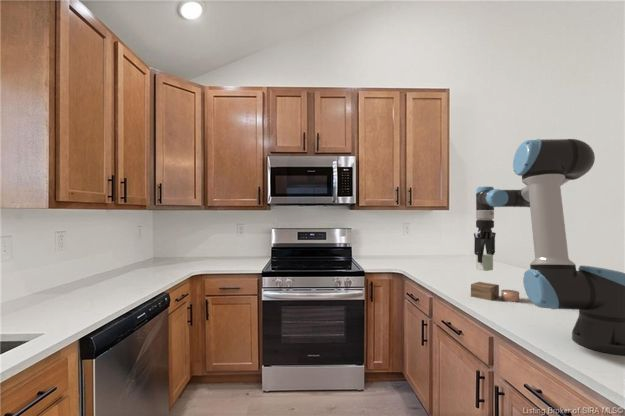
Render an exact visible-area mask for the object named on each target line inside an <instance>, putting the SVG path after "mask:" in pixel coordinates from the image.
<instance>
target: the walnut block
mask: <svg viewBox="0 0 625 416" xmlns="http://www.w3.org/2000/svg"><path fill="white" fill-rule="evenodd" d="M470 297H472V298H476V299H481V300H487V301H490V302H491V301H494V300H496V299H499V298H500V285H499V284H495V283H491V282H484V281H478V282H473V283H471V284H470Z"/></svg>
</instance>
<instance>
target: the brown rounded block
mask: <svg viewBox="0 0 625 416" xmlns="http://www.w3.org/2000/svg"><path fill="white" fill-rule="evenodd" d="M500 292H501V293H500V295H501V296H500V297H501V300H502V301H504V302H509V303H519V302H520V292H519V291H517V290H514V289H501V291H500Z"/></svg>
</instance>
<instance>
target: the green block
mask: <svg viewBox="0 0 625 416" xmlns="http://www.w3.org/2000/svg"><path fill="white" fill-rule="evenodd" d="M483 256H484V270H483V271H484V272H489V271H493V270H494V255H489V254H487V253H483ZM475 257H476V260H475V261H476V264H475V265H476V266H475V268H476V270H477V271H481V270H480V269H478V255H475Z"/></svg>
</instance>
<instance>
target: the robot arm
mask: <svg viewBox="0 0 625 416" xmlns="http://www.w3.org/2000/svg"><path fill="white" fill-rule="evenodd" d="M595 158H596V157H595V152H594V149H593V148H592V146H591V145H589V144H588V143H586V142H585V141H582V140H580V139H577V138H565V139H564V138H557V139H554V138H553V139H552V138H551V139H546V138H545V139H541V138H536V139H527V140H525V141H523V142H522V143H520V144H519V146H518V147H517V149H516V151H515V153H514V155H513V162H512V169H513V170H512V171H513V172H514V174H515V175H517V176H519V177H521V179H522V180H521V182H522V183H523V184H524V185H525V186H524V187H523V188H521V189H501V188H498V189H497V188H496V189H495V188H494V187H493V186H478V187H477V188H476V190H475V191H476V192H475V208H476V209H475V210H476V211H475V218H476V220H475V227H476V229H477V228H478V229H477V232H474V233H473V237H474V238H473V239H474V243H473V245H474V255H475V256H476V255H478V269H480V270H479V271H484V256H483V254H484V251H485V252H486V253H485V254H489V255H493V256H494V255H495V253H496V232H495V231H493V230H492V229H493V228H494V227H495V220H493V219H495V212H494V211H495V208H507V207H509V208H511V207H513V208H529V209H530V220H531V230H532V239H533V249H534V259H533V260H532V262H530V263H529V269H526V270H525V271H524V273H523V278H522V279H523V280H522V283H523V288H524V291H525V294H526V296H527V298H528V299H529V300H530V302H531V303H532V304H533V305H535V306H536V307H538V308H541V309H550V310H578V312H579V313H578V317H577V319H576V322H575V324H574V326H573V329H572V332H571V339H572V341H573V342H574V343H576V344H577V345H580V346H582V347H585V348H588V349H589V350H593V351H598V352H601V353H605V354H606V353H607V354H610V355H611V354H613V355H618V356H619V355H621V356H625V272H622V271H618V270H614V269H609V268H605V267H604V268H603V267H598V266H589V265H582V264H581V265H579V267H578V270H577V265H576V263H574V262H573V261H572V260H571V259H570V258H569V251H568V241H567V234H566V232H567V231H566V224H565V216H564V206H563V198H562V197H563V196H562V189H561V186H563V185H564V184H566V183H568V182H569V181H574V180H577V179H580V178H582V177H583V176H585V175H586V174H587V173H588V172H589V171H590V170H591V169H592V168H593V165H594V164H595V160H596V159H595ZM478 269H477V270H478Z"/></svg>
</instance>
